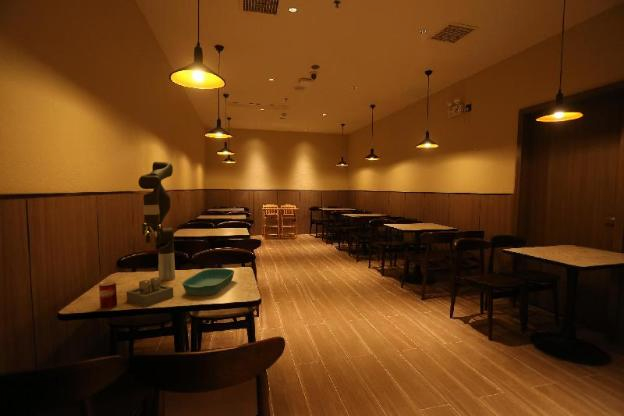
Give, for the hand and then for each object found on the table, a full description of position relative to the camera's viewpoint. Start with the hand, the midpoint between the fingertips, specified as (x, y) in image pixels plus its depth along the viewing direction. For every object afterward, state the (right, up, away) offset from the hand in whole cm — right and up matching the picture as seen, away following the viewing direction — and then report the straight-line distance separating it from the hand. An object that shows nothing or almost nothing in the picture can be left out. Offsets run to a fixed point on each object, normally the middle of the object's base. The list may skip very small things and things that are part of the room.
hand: (153, 243), depth 169 cm
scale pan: (-1, -27, -1) cm, 27 cm away
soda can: (-16, -31, -11) cm, 37 cm away
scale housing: (-1, -29, -1) cm, 29 cm away
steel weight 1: (-3, -26, -3) cm, 26 cm away
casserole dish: (+25, -28, +17) cm, 42 cm away
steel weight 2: (0, -25, +2) cm, 25 cm away
